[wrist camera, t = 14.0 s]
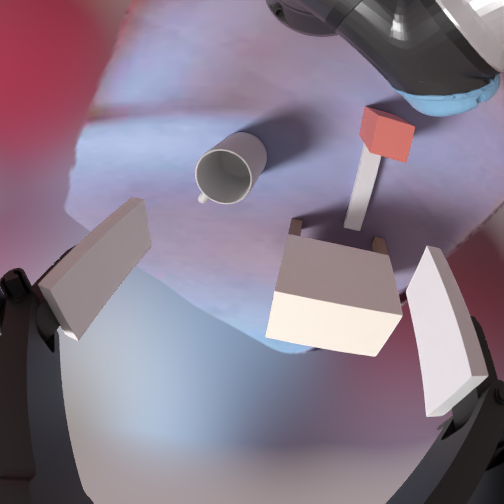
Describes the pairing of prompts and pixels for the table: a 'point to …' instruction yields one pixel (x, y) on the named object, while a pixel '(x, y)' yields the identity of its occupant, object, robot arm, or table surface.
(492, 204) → the table surface
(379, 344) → the cabinet
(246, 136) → the mug
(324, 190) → the table surface
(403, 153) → the red mallet
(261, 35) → the table surface
